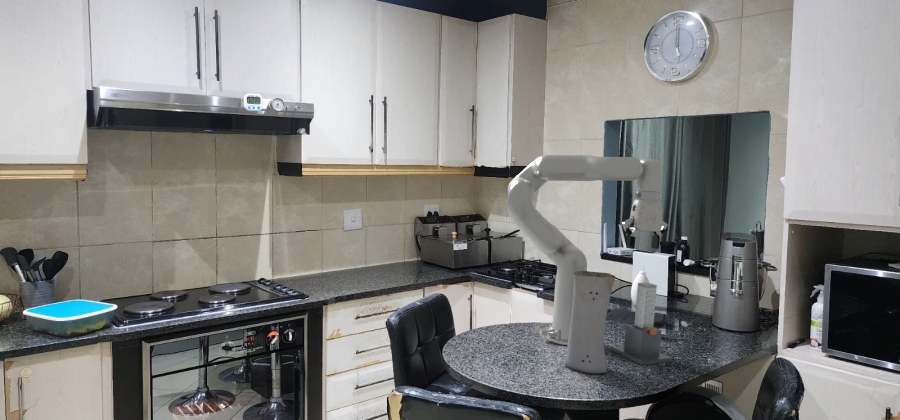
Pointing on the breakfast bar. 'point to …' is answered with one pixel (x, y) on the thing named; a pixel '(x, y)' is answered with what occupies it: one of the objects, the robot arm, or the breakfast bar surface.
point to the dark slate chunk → (629, 317)
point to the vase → (589, 322)
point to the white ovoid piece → (639, 279)
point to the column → (645, 306)
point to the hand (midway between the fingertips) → (642, 248)
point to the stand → (642, 346)
